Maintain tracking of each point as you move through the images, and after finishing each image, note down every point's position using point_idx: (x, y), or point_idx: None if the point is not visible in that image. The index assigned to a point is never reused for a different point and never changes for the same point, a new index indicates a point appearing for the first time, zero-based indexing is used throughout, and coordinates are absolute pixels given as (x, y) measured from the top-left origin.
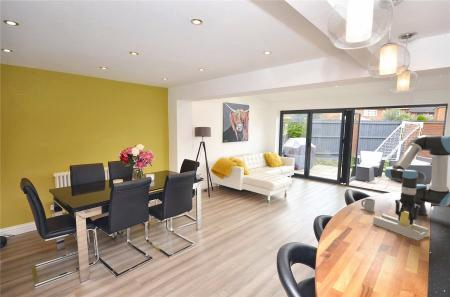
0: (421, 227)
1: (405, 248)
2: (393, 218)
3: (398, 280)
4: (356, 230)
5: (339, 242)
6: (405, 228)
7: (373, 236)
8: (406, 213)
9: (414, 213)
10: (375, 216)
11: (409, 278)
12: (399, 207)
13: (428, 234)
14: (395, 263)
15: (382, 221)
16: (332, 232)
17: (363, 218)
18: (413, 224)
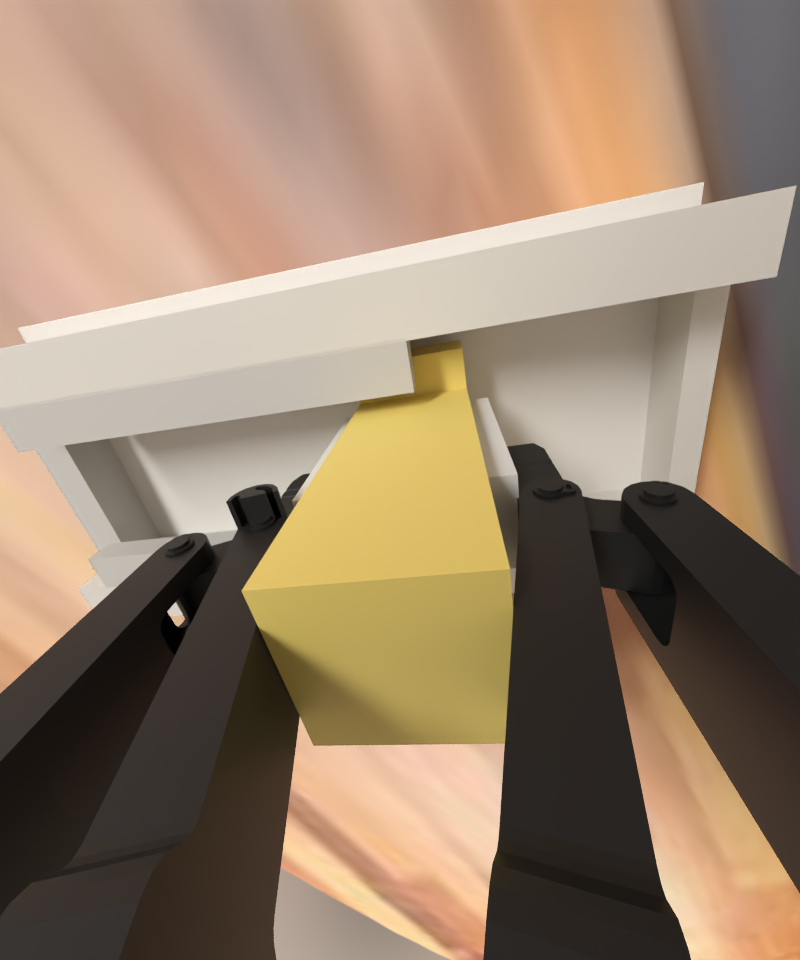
0: (652, 297)
1: (642, 735)
2: (159, 405)
3: (746, 940)
4: (299, 767)
5: (410, 896)
6: (513, 586)
7: (412, 754)
8: (464, 736)
9: (759, 795)
10: (92, 598)
11: (778, 916)
12: (37, 732)
13: (702, 190)
14: (683, 879)
15: None
16: (301, 861)
17: (28, 537)
18: (484, 305)
